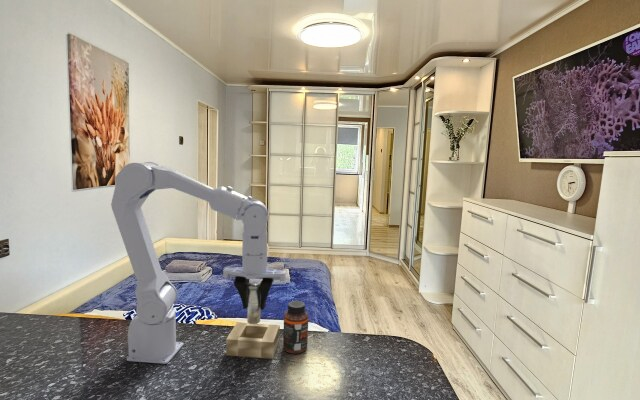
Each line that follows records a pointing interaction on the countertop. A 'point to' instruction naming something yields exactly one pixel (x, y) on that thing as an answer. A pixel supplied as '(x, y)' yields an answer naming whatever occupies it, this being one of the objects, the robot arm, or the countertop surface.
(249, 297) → the pin
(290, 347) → the supplement bottle
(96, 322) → the countertop surface
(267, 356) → the hole block
